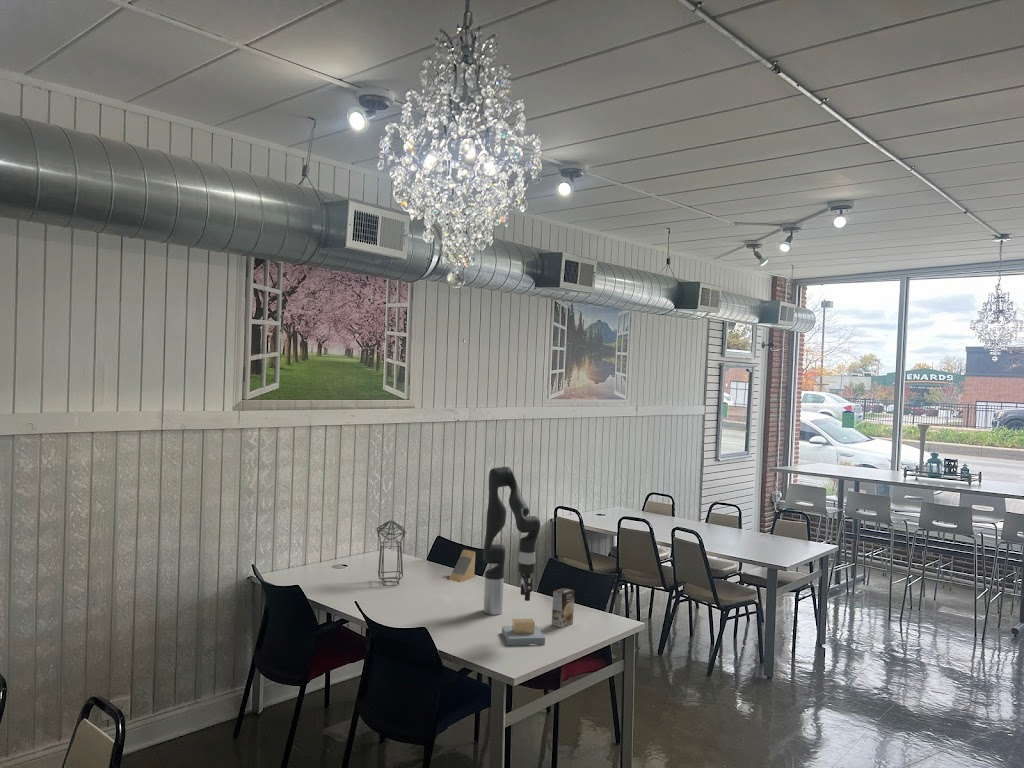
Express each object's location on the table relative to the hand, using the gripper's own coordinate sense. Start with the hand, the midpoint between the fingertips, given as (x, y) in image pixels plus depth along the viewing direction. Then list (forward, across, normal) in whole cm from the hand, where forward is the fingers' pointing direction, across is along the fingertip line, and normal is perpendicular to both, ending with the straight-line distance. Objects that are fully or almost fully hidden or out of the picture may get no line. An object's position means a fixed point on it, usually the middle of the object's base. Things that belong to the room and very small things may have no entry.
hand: (525, 597), depth 328 cm
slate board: (+18, 0, 0) cm, 18 cm away
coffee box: (+19, -18, +23) cm, 34 cm away
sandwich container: (+20, -100, -15) cm, 103 cm away
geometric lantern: (+19, -91, -56) cm, 108 cm away
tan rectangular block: (+15, 0, 0) cm, 15 cm away
